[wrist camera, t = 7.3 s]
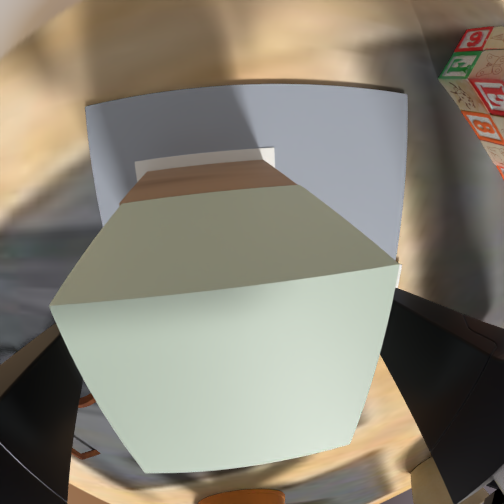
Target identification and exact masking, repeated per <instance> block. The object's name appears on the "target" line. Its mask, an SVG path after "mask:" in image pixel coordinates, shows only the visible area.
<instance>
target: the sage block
mask: <svg viewBox="0 0 504 504" xmlns="http://www.w3.org/2000/svg"><path fill="white" fill-rule="evenodd" d="M399 265H400V264H399V263H398V262H397V261H395V260H394V259H393V258H392V257H391V256H390V255H388V254H387V253H386V252H385V251H384V250H382V249H381V248H380V247H379V246H378V245H377V244H375V243H374V242H373V241H372V240H370V239H369V238H368V237H367V236H366V235H364V234H363V233H362V232H361V231H359V230H358V229H357V228H356V227H354V226H353V225H352V224H351V223H349V222H348V221H347V220H346V219H344V218H343V217H342V216H341V215H339V214H338V213H337V212H335V211H334V210H333V209H332V208H330V207H329V206H328V205H326V204H325V203H324V202H322V201H321V200H320V199H318V198H317V197H316V196H315V195H313V194H312V193H311V192H309V191H308V190H306V189H305V188H304V187H302V186H301V185H288V186H274V187H261V188H250V189H238V190H228V191H218V192H208V193H199V194H190V195H182V196H174V197H166V198H158V199H151V200H143V201H136V202H129V203H123V204H121V205H120V206H119V208H118V209H117V210H116V211H115V213H114V214H113V215H112V216H111V218H110V219H109V220H108V222H107V223H106V224H105V225H104V227H103V228H102V229H101V231H100V232H99V233H98V235H97V236H96V237H95V239H94V240H93V241H92V243H91V244H90V246H89V247H88V248H87V250H86V251H85V252H84V254H83V255H82V257H81V258H80V259H79V261H78V262H77V264H76V265H75V267H74V268H73V270H72V271H71V273H70V274H69V275H68V277H67V278H66V280H65V281H64V283H63V284H62V286H61V288H60V289H59V291H58V292H57V294H56V295H55V297H54V298H53V300H52V302H51V303H50V305H49V307H50V310H51V312H52V315H53V317H54V319H55V322H56V324H57V326H58V328H59V331H60V333H61V335H62V337H63V339H64V342H65V344H66V346H67V348H68V350H69V352H70V354H71V356H72V358H73V360H74V362H75V364H76V366H77V368H78V370H79V372H80V374H81V375H82V377H83V379H84V381H85V383H86V385H87V386H88V388H89V390H90V392H91V393H92V395H93V397H94V399H95V400H96V402H97V404H98V405H99V407H100V409H101V410H102V412H103V413H104V415H105V417H106V418H107V420H108V421H109V423H110V425H111V426H112V428H113V429H114V431H115V432H116V434H117V435H118V437H119V438H120V439H121V441H122V442H123V444H124V445H125V447H126V448H127V449H128V451H129V452H130V454H131V455H132V456H133V458H134V459H135V460H136V462H137V463H138V464H139V466H140V467H141V468H142V470H143V471H144V472H145V473H184V472H201V471H213V470H224V469H233V468H241V467H248V466H255V465H261V464H267V463H273V462H278V461H283V460H288V459H293V458H298V457H302V456H307V455H311V454H315V453H319V452H323V451H327V450H331V449H334V448H338V447H341V446H345V445H348V444H350V443H351V440H352V437H353V435H354V432H355V429H356V427H357V424H358V421H359V418H360V416H361V413H362V410H363V407H364V404H365V401H366V398H367V395H368V392H369V389H370V386H371V382H372V379H373V376H374V372H375V369H376V366H377V362H378V359H379V355H380V351H381V348H382V344H383V340H384V336H385V332H386V328H387V324H388V319H389V315H390V311H391V306H392V301H393V297H394V292H395V287H396V282H397V276H398V271H399Z"/></svg>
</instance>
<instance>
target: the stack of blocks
mask: <svg viewBox="0 0 504 504" xmlns="http://www.w3.org/2000/svg"><path fill="white" fill-rule="evenodd" d="M438 80H439V82H440V83H441V84H442V85H443V87H444V88H445V89H446V91H447V92H448V93H449V95H450V96H451V97H452V99H453V100H454V101H455V103H456V104H457V105H458V107H459V108H460V110H461V112H462V114H463V115H464V117H465V118H466V120H467V121H468V123H469V124H470V126H471V127H472V129H473V130H474V132H475V133H476V135H477V136H478V138H479V139H480V141H481V143H482V145H483V146H484V148H485V150H486V151H487V153H488V155H489V156H490V158H491V160H492V162H493V163H494V164H495V165H496V166H497V169H498V170H499V172H500V174H501V176H502V178H503V179H504V26H497V27H494V26H493V27H482V28H474V29H468V30H466V32H465V33H464V35H463V37H462V39H461V40H460V42H459V44H458V45H457V47H456V49H455V50H454V53H453V55H452V57H451V58H450V60H449V62H448V63H447V65H446V66H445V68H444V70H443V71H442V73H441V74H440V76H439V77H438Z"/></svg>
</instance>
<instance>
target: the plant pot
mask: <svg viewBox="0 0 504 504" xmlns="http://www.w3.org/2000/svg"><path fill="white" fill-rule="evenodd" d="M411 485H412V495H413V502H414V504H453V502H452V500H451V497H450V495H449V493H448V490H447V488H446V486H445V484H444V481H443V479H442V477H441V475H440V472H439V470H438V468H437V466H436V464H435V462H434V459H433V457H431V458H429V459H427V460H426V461H424V462H422V463H421V464H420V465H418V466H417V467H416V468H415V469H414V470H413V471H412V472H411ZM488 496H489V494H488V493H487V491H486V490H485V489H484V488H481V489H480V490H478V491H477V492H476V493H474V494H473V495H471V496H470V497H468V498H467V499H465V500H463V501H462V502H460V503H459V504H481V503H483V502H484V500H485V498H487V497H488Z"/></svg>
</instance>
